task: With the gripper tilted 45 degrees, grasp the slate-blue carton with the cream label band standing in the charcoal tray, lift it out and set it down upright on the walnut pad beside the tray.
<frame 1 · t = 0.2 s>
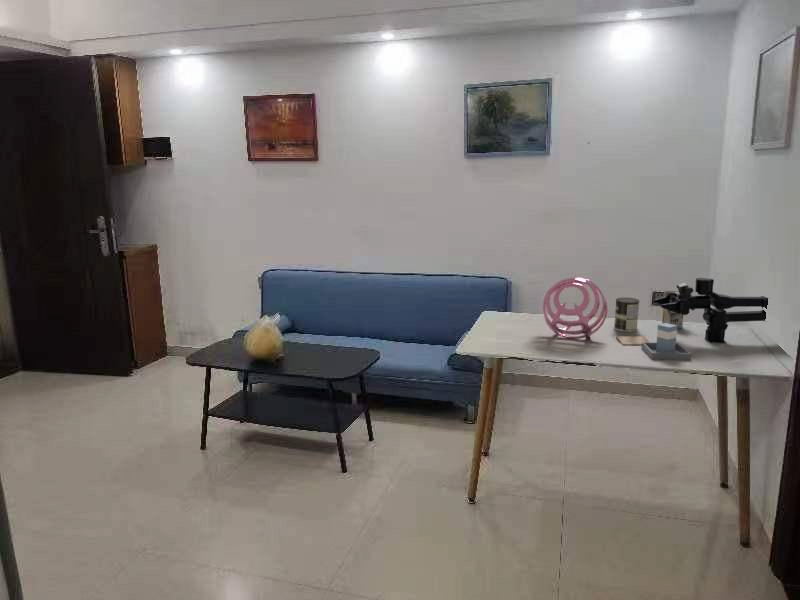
hand: (657, 303, 252), 17 cm above the table, tool horizontal, fingers open, 9 cm apart
pad: (633, 342, 253), on the table
carton: (665, 353, 236), resting on tray
coffee box: (671, 325, 278), on the table
tray: (665, 354, 236), on the table
spiral basket: (571, 336, 264), on the table
coffee can: (625, 329, 274), on the table
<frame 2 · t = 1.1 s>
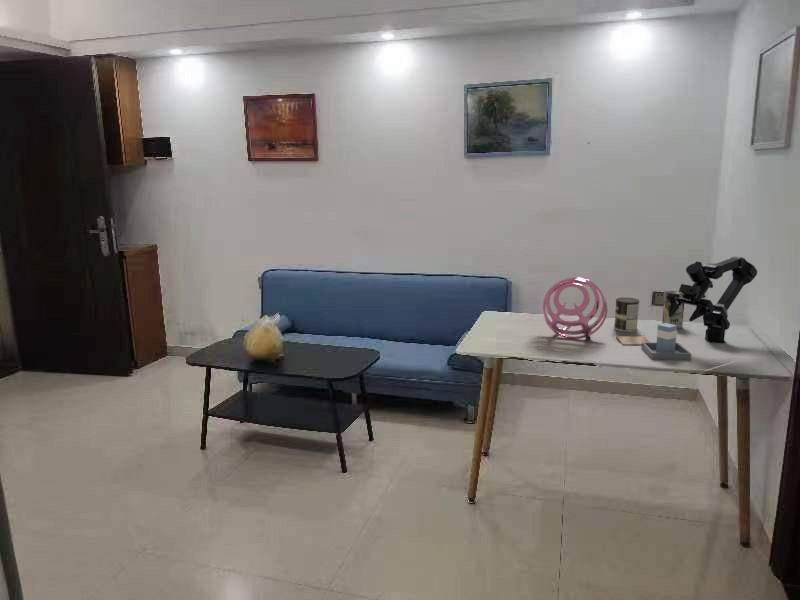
hand: (679, 318, 237), 14 cm above the table, tool tilted 45°, fingers open, 9 cm apart
nothing on the table moved.
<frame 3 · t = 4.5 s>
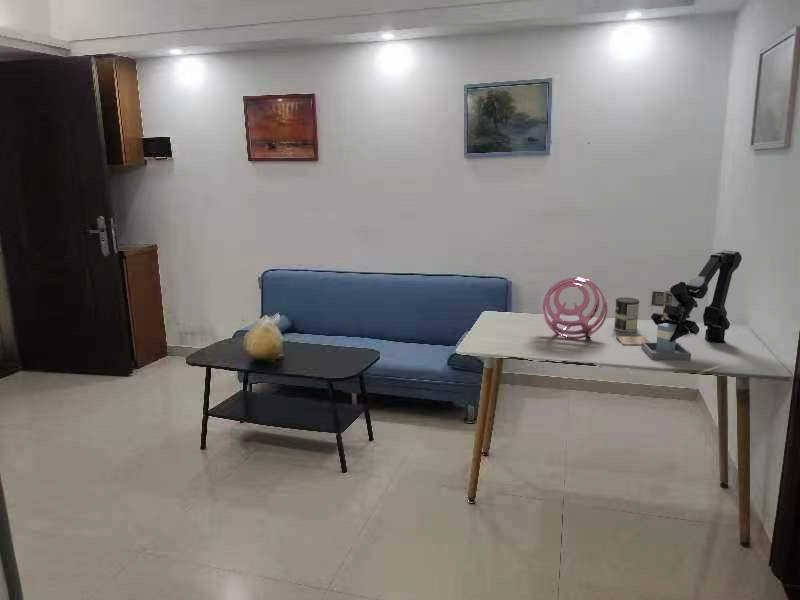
hand: (664, 339, 234), 7 cm above the table, tool tilted 45°, fingers closed on carton, 5 cm apart
carton: (665, 353, 236), resting on tray, touching gripper
everything else where it was.
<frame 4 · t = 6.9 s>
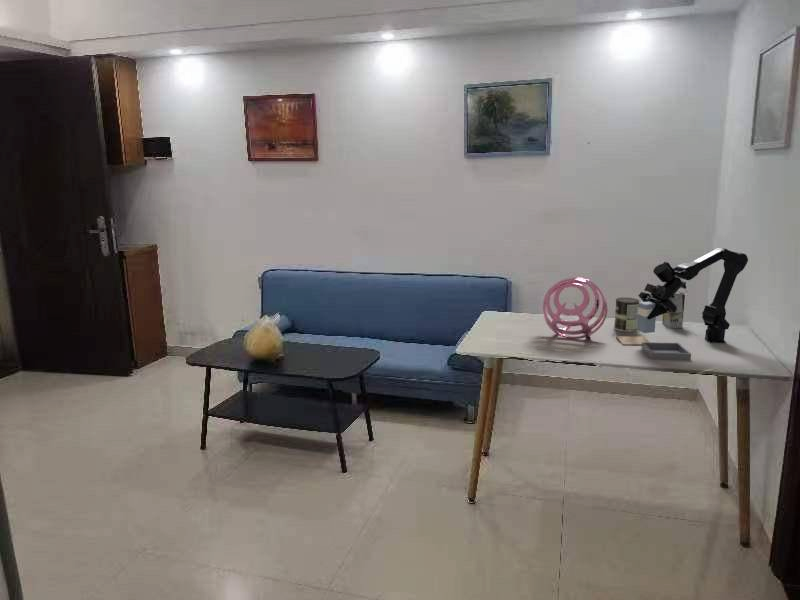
hand: (643, 317, 242), 13 cm above the table, tool tilted 45°, fingers closed on carton, 5 cm apart
carton: (645, 331, 244), point 7 cm above the table, touching gripper
everything else where it was.
when the fingers open (8 cm above the table, at t = 9.7 s): carton stays where it is, resting on pad.
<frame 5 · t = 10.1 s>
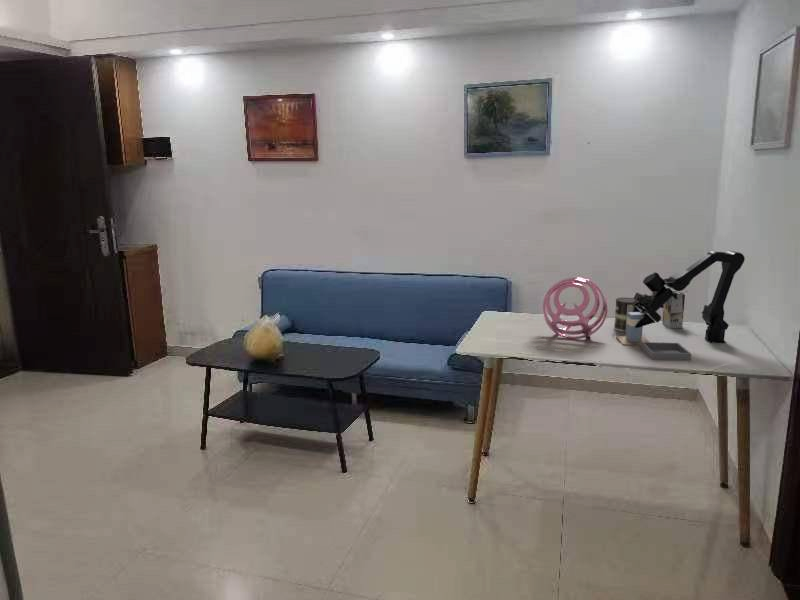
hand: (631, 324, 252), 8 cm above the table, tool tilted 45°, fingers open, 9 cm apart
carton: (633, 340, 253), point 1 cm above the table, touching pad
everything else where it was.
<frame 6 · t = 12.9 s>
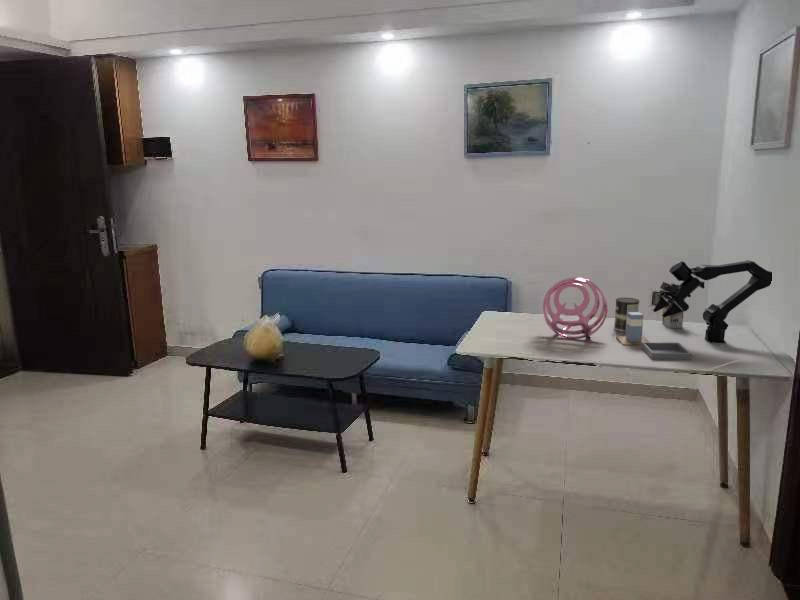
hand: (658, 314, 251), 12 cm above the table, tool tilted 45°, fingers open, 9 cm apart
nothing on the table moved.
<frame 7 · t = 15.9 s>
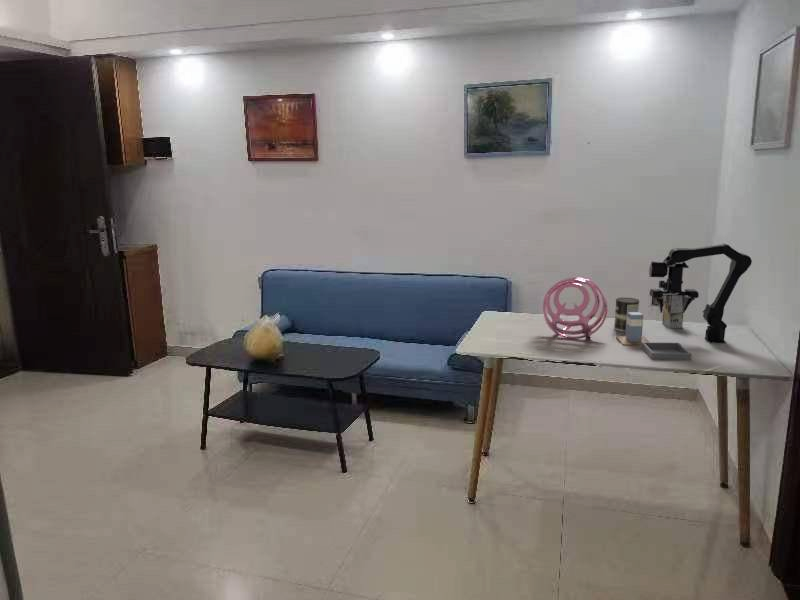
hand: (672, 312, 254), 12 cm above the table, tool pointing down, fingers open, 9 cm apart
nothing on the table moved.
at the end: carton inside the target area on the pad (0.1 cm from its centre), point 1.0 cm above the pad's base; carton tilted 0°; the gripper is holding nothing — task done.
